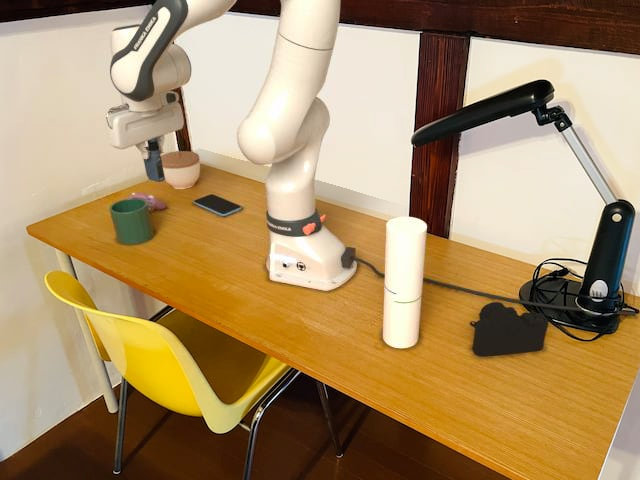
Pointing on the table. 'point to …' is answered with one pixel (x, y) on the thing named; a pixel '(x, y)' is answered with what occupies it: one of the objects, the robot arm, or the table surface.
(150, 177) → the vaping device
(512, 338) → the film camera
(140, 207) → the pen cup
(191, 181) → the lidded bowl
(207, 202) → the smartphone
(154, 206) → the video game controller
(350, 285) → the table surface
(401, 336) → the cylindrical container
